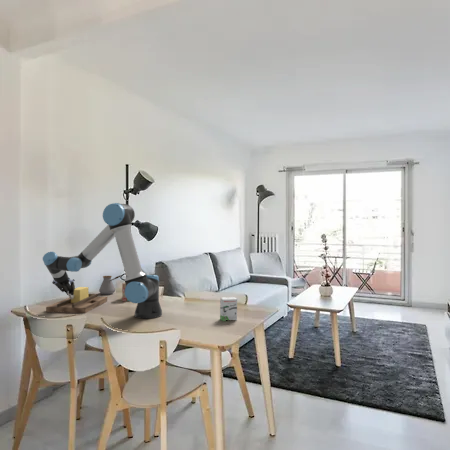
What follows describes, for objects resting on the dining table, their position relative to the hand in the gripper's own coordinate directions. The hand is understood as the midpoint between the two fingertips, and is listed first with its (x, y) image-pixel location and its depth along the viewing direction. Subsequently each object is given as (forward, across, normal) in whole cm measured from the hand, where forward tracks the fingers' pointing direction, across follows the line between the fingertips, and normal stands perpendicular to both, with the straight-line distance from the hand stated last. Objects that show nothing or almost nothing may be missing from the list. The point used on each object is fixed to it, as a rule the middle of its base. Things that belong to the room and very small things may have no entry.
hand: (72, 297), depth 235 cm
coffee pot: (+35, +8, +27) cm, 45 cm away
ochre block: (+7, +2, +2) cm, 7 cm away
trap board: (+8, +1, -1) cm, 8 cm away
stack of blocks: (+28, +27, +19) cm, 43 cm away
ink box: (-8, +97, -18) cm, 99 cm away
